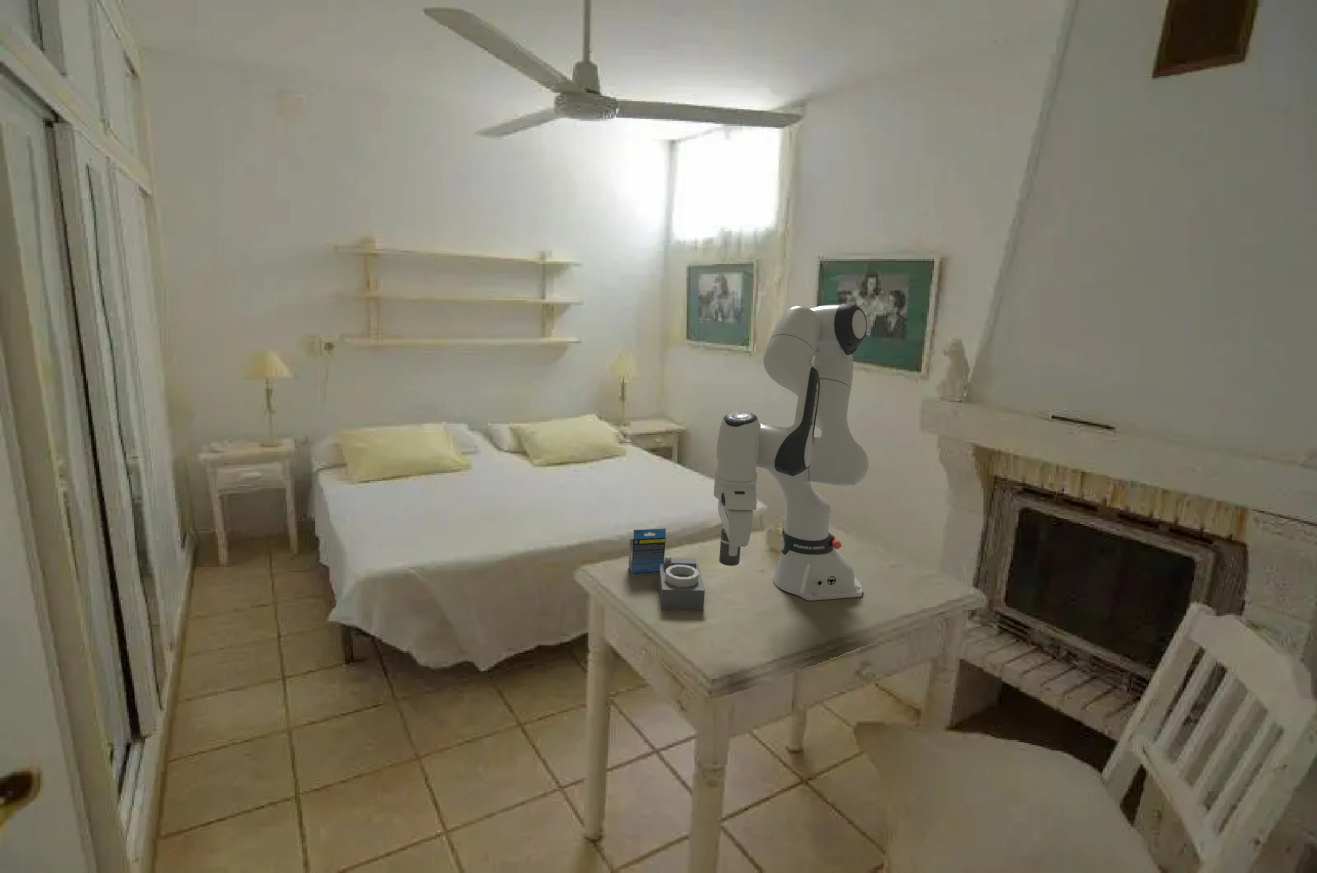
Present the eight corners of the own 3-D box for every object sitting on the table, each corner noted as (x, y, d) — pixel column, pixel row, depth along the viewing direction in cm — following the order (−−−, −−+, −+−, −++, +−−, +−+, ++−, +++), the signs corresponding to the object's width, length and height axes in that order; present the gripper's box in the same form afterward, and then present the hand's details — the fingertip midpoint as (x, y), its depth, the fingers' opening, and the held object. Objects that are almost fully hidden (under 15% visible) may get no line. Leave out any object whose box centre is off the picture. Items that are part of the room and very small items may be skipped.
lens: (737, 557, 147) (740, 527, 145) (741, 566, 143) (743, 535, 141) (717, 557, 147) (719, 526, 145) (720, 565, 143) (722, 534, 141)
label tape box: (660, 565, 179) (662, 522, 176) (664, 572, 175) (666, 528, 172) (628, 567, 176) (630, 524, 173) (631, 574, 172) (633, 530, 170)
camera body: (697, 582, 169) (699, 555, 168) (703, 610, 156) (705, 580, 154) (658, 582, 169) (660, 554, 167) (661, 609, 155) (662, 579, 153)
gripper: (713, 473, 151) (710, 530, 154) (727, 504, 131) (722, 569, 134) (741, 474, 151) (736, 531, 154) (758, 505, 131) (753, 569, 135)
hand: (730, 549), depth 144 cm, fingers closed on lens, 4 cm apart
